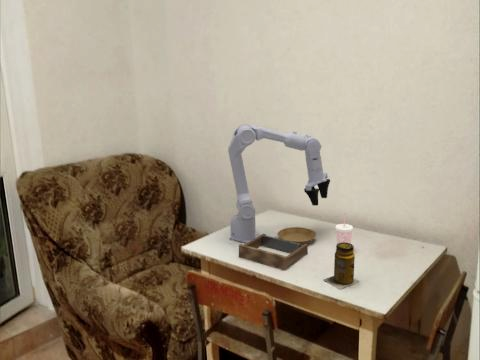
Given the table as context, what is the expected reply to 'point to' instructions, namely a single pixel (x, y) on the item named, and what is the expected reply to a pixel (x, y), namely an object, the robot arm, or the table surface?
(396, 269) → the table surface
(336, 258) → the condiment
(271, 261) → the brown wooden open box
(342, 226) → the beverage cup
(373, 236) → the table surface
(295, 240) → the plant saucer
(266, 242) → the pusher plate
